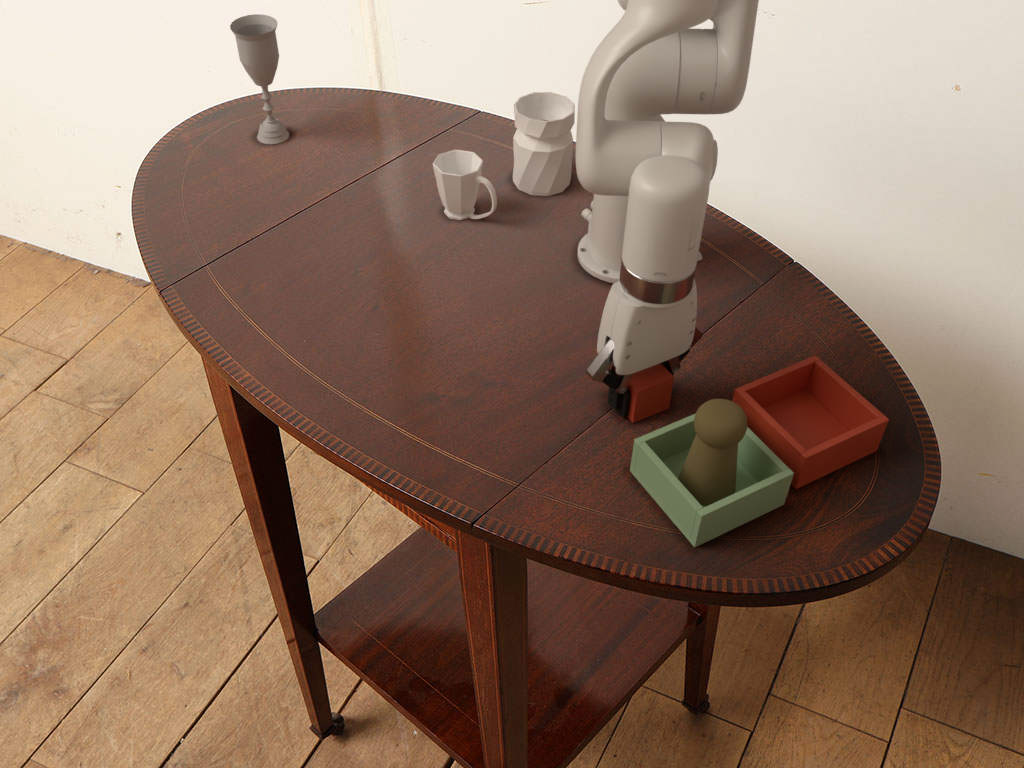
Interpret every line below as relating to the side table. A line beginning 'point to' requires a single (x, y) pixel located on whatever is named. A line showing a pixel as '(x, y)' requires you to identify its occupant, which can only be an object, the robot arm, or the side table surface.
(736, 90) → the robot arm
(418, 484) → the side table surface
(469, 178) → the cup
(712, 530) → the sage bin
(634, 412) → the rust block
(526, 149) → the vase
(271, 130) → the chalice
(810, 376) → the rust bin
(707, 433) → the olive brown pawn
